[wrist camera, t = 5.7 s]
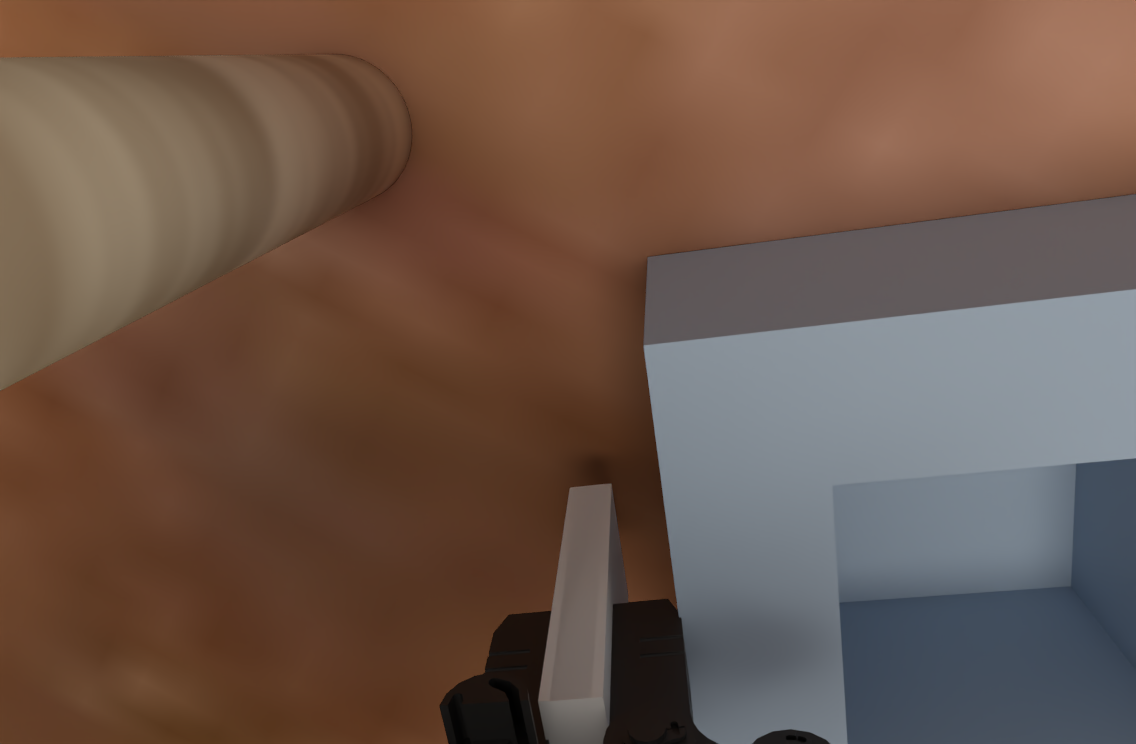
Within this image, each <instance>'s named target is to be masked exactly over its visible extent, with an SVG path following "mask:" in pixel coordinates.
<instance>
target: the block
mask: <svg viewBox="0 0 1136 744" xmlns="http://www.w3.org/2000/svg"><path fill="white" fill-rule="evenodd" d="M644 353H645V361H646V369H647V376H648V384H649V392H650V399H651V407H652V415H653V422H654V430H655V438H656V445H657V453H658V461H659V469H660V476H661V484H662V492H663V499H664V507H665V515H666V522H667V530H668V538H669V545H670V553H671V561H672V568H673V576H674V584H675V592H676V599H677V607H678V615H679V618H680V617H681V619H682V627H683V635H684V643H685V650H686V658H687V666H688V673H689V681H690V690H691V700H692V710H693V720H694V724H695V725H696V727H697V728H698V730H699V731H700V732H701V733H702V734H704V735H705V736H706V737H707V738H709V739H710V740H712V741H714V742H716V743H718V744H752V743H753V742H754V741H755V740H756V739H757V738H759V737H761V736H764V735H766V734H768V733H770V732H772V731H780V730H788V729H793V730H800V731H806V732H811V733H813V734H815V735H817V736H819V737H821V738H823V739H826V740H827V741H828V742H829V743H830V744H1136V194H1134V195H1126V196H1118V197H1110V198H1103V199H1095V200H1087V201H1079V202H1071V203H1064V204H1056V205H1048V206H1040V207H1033V208H1025V209H1017V210H1009V211H1001V212H994V213H986V214H978V215H970V216H963V217H955V218H947V219H939V220H931V221H924V222H916V223H908V224H900V225H893V226H885V227H877V228H869V229H861V230H854V231H846V232H838V233H830V234H823V235H815V236H807V237H799V238H792V239H784V240H776V241H768V242H760V243H753V244H745V245H737V246H729V247H722V248H714V249H706V250H698V251H690V252H683V253H675V254H667V255H659V256H652V257H648V262H647V283H646V304H645V325H644Z"/></svg>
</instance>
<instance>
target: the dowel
mask: <svg viewBox="0 0 1136 744" xmlns="http://www.w3.org/2000/svg"><path fill="white" fill-rule="evenodd" d="M411 143H412V128H411V120H410V116H409V113H408V109H407V107H406V104H405V102H404V100H403V98H402V96H401V94H400V92H399V91H398V89H397V88H396V86H395V85H394V84H393V83H392V81H391V80H390V79H389V78H388V77H387V76H386V75H385V74H384V73H383V72H381V71H380V70H379V69H378V68H376V67H375V66H373V65H372V64H370V63H368V62H366V61H364V60H362V59H359V58H356V57H353V56H348V55H342V54H297V55H205V56H113V57H21V58H0V391H1V390H3V389H5V388H7V387H8V386H10V385H12V384H14V383H16V382H18V381H20V380H22V379H24V378H26V377H28V376H30V375H32V374H34V373H35V372H37V371H39V370H41V369H43V368H45V367H47V366H49V365H51V364H53V363H55V362H57V361H59V360H61V359H63V358H64V357H66V356H68V355H70V354H72V353H74V352H76V351H78V350H80V349H82V348H84V347H86V346H88V345H90V344H92V343H93V342H95V341H97V340H99V339H101V338H103V337H105V336H107V335H109V334H111V333H113V332H115V331H117V330H119V329H120V328H122V327H124V326H126V325H128V324H130V323H132V322H134V321H136V320H138V319H140V318H142V317H144V316H146V315H148V314H149V313H151V312H153V311H155V310H157V309H159V308H161V307H163V306H165V305H167V304H169V303H171V302H173V301H175V300H177V299H178V298H180V297H182V296H184V295H186V294H188V293H190V292H192V291H194V290H196V289H198V288H200V287H202V286H204V285H205V284H207V283H209V282H211V281H213V280H215V279H217V278H219V277H221V276H223V275H225V274H227V273H229V272H231V271H233V270H234V269H236V268H238V267H240V266H242V265H244V264H246V263H248V262H250V261H252V260H254V259H256V258H258V257H260V256H262V255H263V254H265V253H267V252H269V251H271V250H273V249H275V248H277V247H279V246H281V245H283V244H285V243H287V242H289V241H290V240H292V239H294V238H296V237H298V236H300V235H302V234H304V233H306V232H308V231H310V230H312V229H314V228H316V227H318V226H319V225H321V224H323V223H325V222H327V221H329V220H331V219H333V218H335V217H337V216H339V215H341V214H343V213H345V212H347V211H348V210H350V209H352V208H354V207H356V206H358V205H360V204H362V203H364V202H366V201H368V200H370V199H372V198H374V197H375V196H377V195H379V194H381V193H383V192H384V191H385V190H387V189H388V188H389V187H390V186H391V185H392V184H393V183H394V182H395V181H396V180H397V179H398V177H399V176H400V175H401V173H402V171H403V170H404V168H405V166H406V163H407V161H408V158H409V154H410V150H411Z"/></svg>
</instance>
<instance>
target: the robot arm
mask: <svg viewBox="0 0 1136 744" xmlns="http://www.w3.org/2000/svg"><path fill="white" fill-rule="evenodd" d="M440 710H441V714H442V718H443V722H444V726H445V731H446V735H447V739H448V743H449V744H718V743H716V742H714V741H712V740H710V739H709V738H707V737H706V736H705V735H704V734H702V733H701V732H700V731H699V730H698V728H697V727H696V725H695V724H694V720H693V710H692V700H691V690H690V681H689V673H688V666H687V658H686V650H685V643H684V635H683V627H682V619H681V617H680V618H679V615H678V611H677V610H676V608H675V607H674V606H673V605H672V603H671V602H670V601H669V600H668V599H661V600H650V601H639V602H628V590H627V583H626V577H625V570H624V563H623V557H622V550H621V544H620V537H619V530H618V524H617V517H616V510H615V504H614V497H613V491H612V484H599V485H590V486H580V487H571V488H570V490H569V496H568V503H567V510H566V517H565V523H564V530H563V537H562V543H561V550H560V557H559V564H558V570H557V577H556V584H555V591H554V597H553V604H552V611H545V612H534V613H522V614H511V615H508V617H507V618H506V619H505V620H504V621H503V623H502V624H501V625H500V626H499V627H498V629H497V630H496V631H495V632H494V634H493V638H492V642H491V646H490V651H489V657H488V659H487V663H486V667H485V673H484V674H483V675H477V676H474V677H472V678H469V679H467V680H465V681H463V682H461V683H459V684H458V685H456V686H455V687H454V688H453V689H452V690H450V691H449V692H448V693H447V694H446V695H445V697H444V699H443V701H442V702H441V704H440ZM752 744H830V743H829V742H828V741H827V740H826V739H823V738H821V737H819V736H817V735H815V734H813V733H811V732H806V731H800V730H793V729H788V730H780V731H772V732H770V733H768V734H766V735H764V736H761V737H759V738H757V739H756V740H755V741H754V742H753V743H752Z"/></svg>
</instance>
